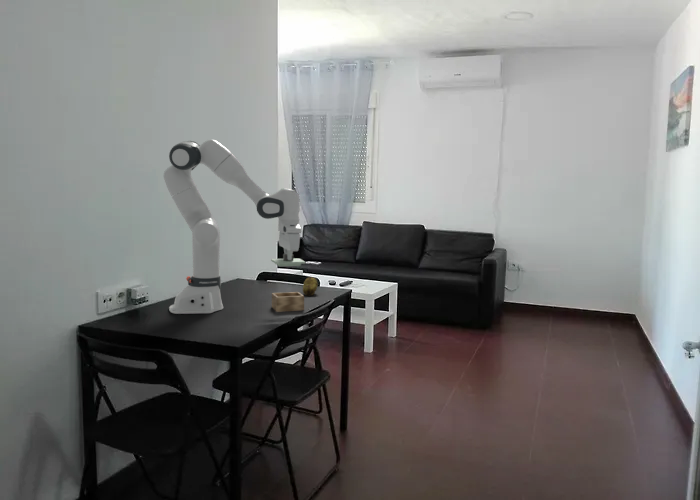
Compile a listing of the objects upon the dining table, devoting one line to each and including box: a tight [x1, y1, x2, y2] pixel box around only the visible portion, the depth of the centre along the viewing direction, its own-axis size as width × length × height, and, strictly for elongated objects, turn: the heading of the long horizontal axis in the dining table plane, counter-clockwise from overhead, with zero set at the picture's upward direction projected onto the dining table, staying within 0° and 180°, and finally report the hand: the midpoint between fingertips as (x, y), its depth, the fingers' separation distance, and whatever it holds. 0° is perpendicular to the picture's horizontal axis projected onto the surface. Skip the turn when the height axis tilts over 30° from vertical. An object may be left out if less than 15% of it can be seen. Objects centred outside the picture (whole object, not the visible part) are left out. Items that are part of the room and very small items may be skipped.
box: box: [271, 291, 305, 313], centre depth 253 cm, size 12×9×7 cm
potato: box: [302, 276, 319, 297], centre depth 287 cm, size 8×13×8 cm, turn 163°
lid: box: [270, 253, 306, 267], centre depth 250 cm, size 13×10×4 cm
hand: (288, 259), depth 250 cm, fingers closed on lid, 2 cm apart
